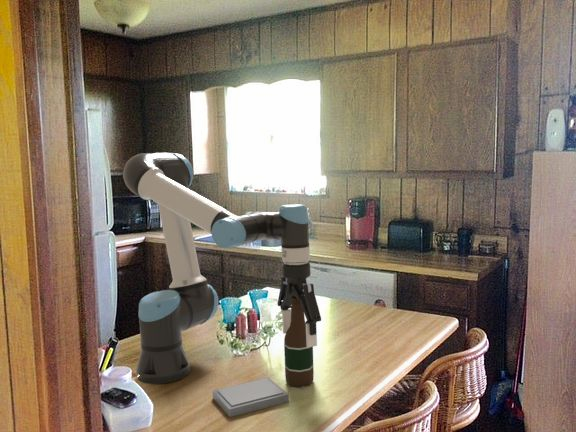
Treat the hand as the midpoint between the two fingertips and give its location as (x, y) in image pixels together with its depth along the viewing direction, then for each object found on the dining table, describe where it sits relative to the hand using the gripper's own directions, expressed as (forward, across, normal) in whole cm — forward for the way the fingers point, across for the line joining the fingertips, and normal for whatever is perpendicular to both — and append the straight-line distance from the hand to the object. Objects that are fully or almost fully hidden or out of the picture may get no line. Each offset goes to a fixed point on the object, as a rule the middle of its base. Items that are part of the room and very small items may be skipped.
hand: (299, 339), depth 146 cm
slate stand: (+12, +3, -16) cm, 20 cm away
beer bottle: (+12, 0, 0) cm, 12 cm away
